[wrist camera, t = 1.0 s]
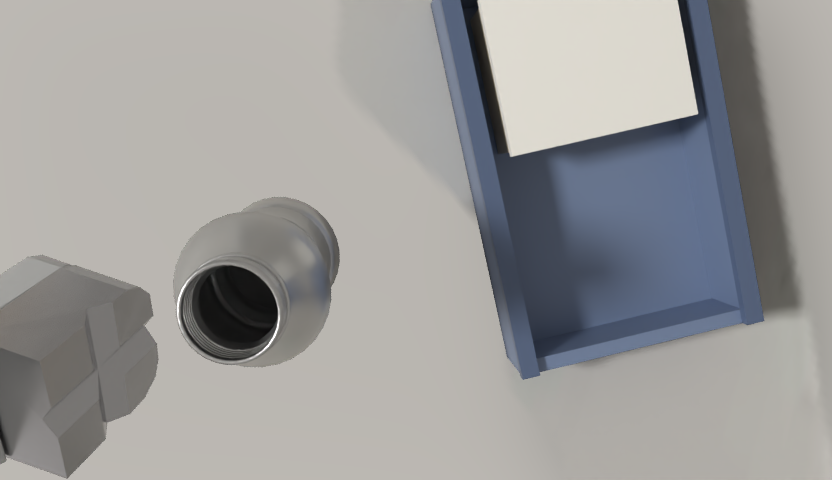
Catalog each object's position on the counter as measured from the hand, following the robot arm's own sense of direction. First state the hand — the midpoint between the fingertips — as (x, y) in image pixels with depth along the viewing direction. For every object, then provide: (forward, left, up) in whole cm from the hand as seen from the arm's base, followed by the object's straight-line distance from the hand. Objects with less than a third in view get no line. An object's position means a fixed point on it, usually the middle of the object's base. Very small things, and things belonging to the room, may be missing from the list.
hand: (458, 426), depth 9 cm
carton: (-10, +10, -37) cm, 39 cm away
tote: (-5, +12, -37) cm, 40 cm away
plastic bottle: (+3, -5, -38) cm, 38 cm away
